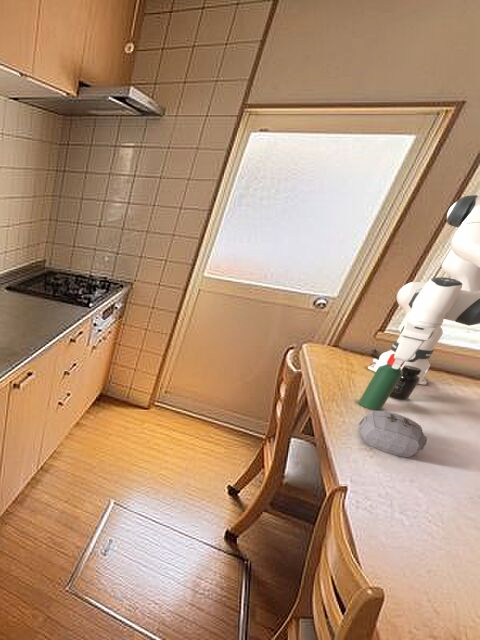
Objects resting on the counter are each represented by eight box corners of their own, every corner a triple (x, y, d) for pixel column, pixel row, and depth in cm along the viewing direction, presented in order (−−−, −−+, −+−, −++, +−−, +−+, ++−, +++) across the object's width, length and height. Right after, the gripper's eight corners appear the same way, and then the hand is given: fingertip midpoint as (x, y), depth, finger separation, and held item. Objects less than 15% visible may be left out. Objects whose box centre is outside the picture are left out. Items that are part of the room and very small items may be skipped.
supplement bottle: (412, 401, 157) (430, 373, 151) (391, 398, 158) (409, 370, 152) (399, 393, 163) (416, 365, 157) (379, 390, 164) (396, 362, 158)
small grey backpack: (419, 464, 119) (415, 438, 133) (436, 440, 115) (431, 415, 129) (352, 441, 128) (355, 418, 142) (366, 418, 124) (368, 397, 138)
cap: (400, 368, 141) (406, 359, 140) (385, 363, 144) (390, 355, 142) (402, 365, 144) (407, 356, 142) (387, 361, 146) (392, 352, 145)
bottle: (356, 404, 151) (384, 356, 143) (360, 399, 155) (387, 352, 147) (379, 412, 147) (409, 362, 139) (382, 407, 151) (412, 359, 142)
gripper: (407, 320, 146) (386, 356, 152) (402, 331, 133) (380, 370, 139) (432, 325, 142) (410, 362, 148) (429, 337, 129) (405, 377, 135)
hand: (395, 366), depth 144 cm, fingers closed on cap, 3 cm apart
